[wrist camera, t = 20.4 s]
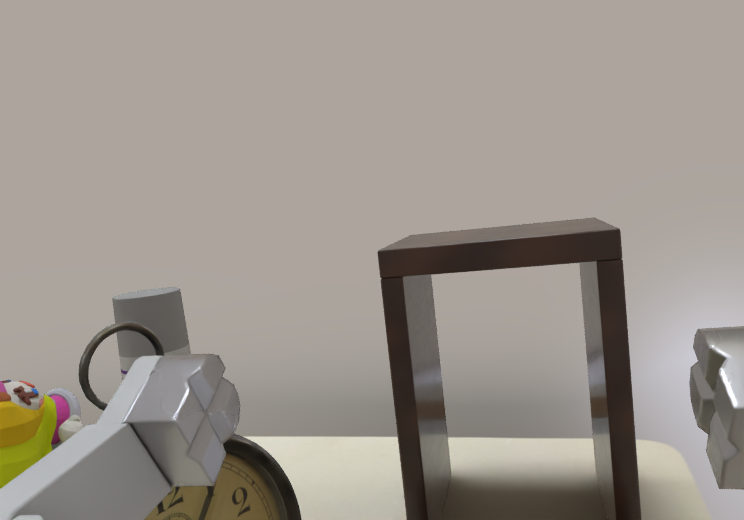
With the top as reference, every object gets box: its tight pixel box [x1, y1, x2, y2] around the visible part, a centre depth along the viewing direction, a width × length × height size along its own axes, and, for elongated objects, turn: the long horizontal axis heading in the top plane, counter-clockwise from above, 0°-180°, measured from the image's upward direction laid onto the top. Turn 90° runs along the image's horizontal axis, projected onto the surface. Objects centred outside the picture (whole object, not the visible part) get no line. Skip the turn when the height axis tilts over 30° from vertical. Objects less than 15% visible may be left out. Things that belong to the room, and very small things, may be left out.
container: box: [112, 287, 191, 380], centre depth 44 cm, size 5×5×15 cm
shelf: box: [378, 218, 641, 520], centre depth 37 cm, size 12×10×17 cm
